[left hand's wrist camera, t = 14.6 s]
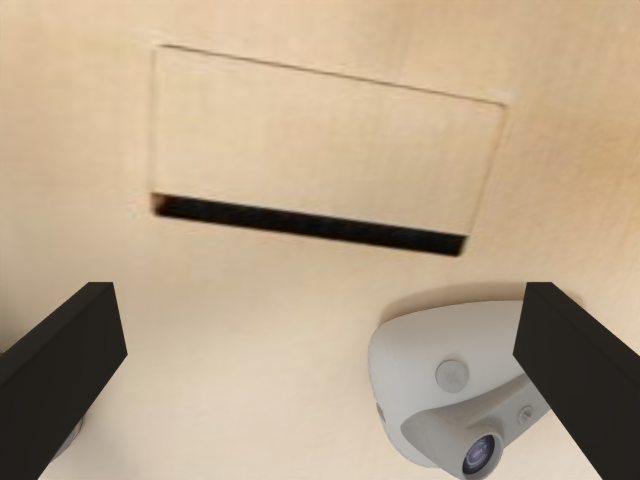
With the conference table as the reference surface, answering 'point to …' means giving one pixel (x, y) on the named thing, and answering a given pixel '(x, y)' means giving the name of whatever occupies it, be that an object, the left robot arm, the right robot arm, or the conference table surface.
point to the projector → (453, 385)
